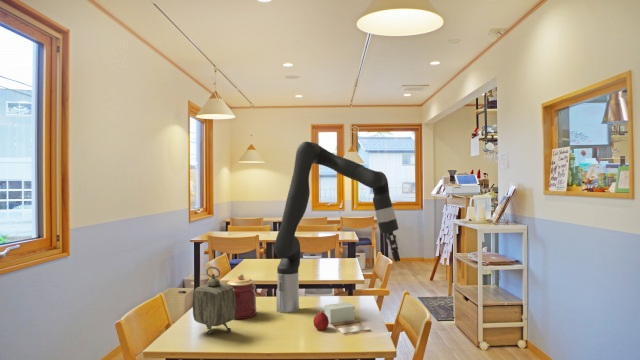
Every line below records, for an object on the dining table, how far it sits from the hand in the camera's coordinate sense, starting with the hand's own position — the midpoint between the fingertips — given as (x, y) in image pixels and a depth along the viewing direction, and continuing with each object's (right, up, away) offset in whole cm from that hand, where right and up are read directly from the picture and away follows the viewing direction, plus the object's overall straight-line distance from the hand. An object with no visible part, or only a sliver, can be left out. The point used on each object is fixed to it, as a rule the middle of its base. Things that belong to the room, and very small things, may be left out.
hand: (396, 259), depth 172 cm
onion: (-30, -26, -7) cm, 40 cm away
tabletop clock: (-71, -27, -6) cm, 76 cm away
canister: (-64, -27, +15) cm, 71 cm away
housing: (-22, -25, +4) cm, 34 cm away
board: (-20, -26, -2) cm, 33 cm away
